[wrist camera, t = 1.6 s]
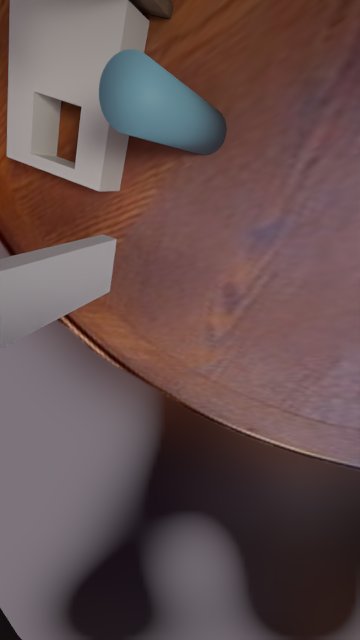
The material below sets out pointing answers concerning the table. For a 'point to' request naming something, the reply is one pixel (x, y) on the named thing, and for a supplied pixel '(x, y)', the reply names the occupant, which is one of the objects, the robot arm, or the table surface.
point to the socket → (67, 83)
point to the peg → (157, 105)
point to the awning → (154, 7)
